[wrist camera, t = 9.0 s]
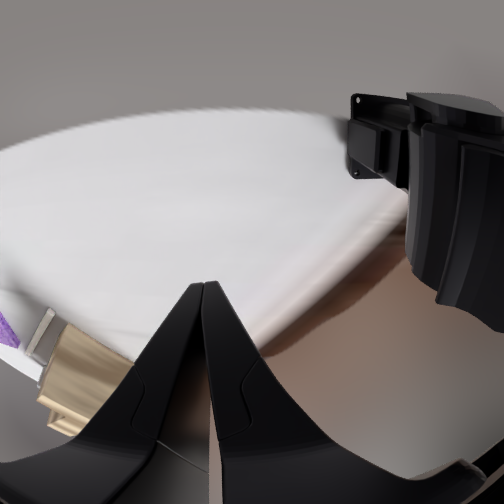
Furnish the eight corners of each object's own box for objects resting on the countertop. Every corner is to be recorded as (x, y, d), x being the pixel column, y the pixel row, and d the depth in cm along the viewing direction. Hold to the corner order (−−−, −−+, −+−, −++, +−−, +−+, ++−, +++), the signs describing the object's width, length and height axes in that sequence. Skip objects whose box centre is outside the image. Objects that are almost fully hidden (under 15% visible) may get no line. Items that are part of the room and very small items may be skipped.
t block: (68, 322, 25) (42, 394, 17) (147, 369, 31) (139, 438, 23) (40, 360, 30) (24, 412, 22) (100, 395, 36) (91, 445, 28)
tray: (49, 307, 24) (36, 333, 20) (165, 378, 32) (163, 404, 29) (24, 354, 29) (16, 373, 26) (110, 404, 38) (107, 422, 34)
